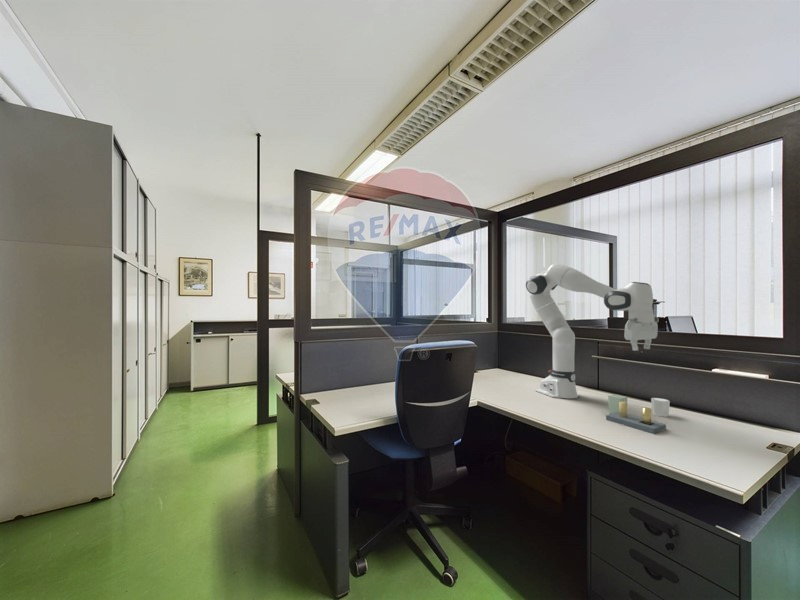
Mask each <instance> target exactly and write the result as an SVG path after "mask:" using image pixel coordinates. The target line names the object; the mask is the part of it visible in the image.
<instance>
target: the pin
mask: <svg viewBox="0 0 800 600" xmlns="http://www.w3.org/2000/svg"><path fill="white" fill-rule="evenodd" d="M641 413H642V417H641V418H642V420H643V424H646V425H650V426H651V425H652V421H653V420H652V416H653V415H652V414H653V413H652V407H651V408H650V407H647V406H646V407H644V406H643V407H642V412H641Z"/></svg>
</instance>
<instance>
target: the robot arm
mask: <svg viewBox="0 0 800 600" xmlns="http://www.w3.org/2000/svg"><path fill="white" fill-rule="evenodd" d="M557 286H559V287H561V288H562V289H565V290H568V291H571V292H575V293H586V294H593V295H595V296H598V297H600V298H601V299H603V304H604V305H605V307H606V308H607V309H609V310H611V311H615V312H617V311H618V312H622V311H623V312H628V314H627V315H628V320H627V322H626V323H625V325H624V336H623V337H624V339H625V340H626V341H629V342H630V344H631V348H632V351H635V352H636V351H639V346H638V341H642V340H644V345H643V349H644V350H650V349H651V343H652V339H657V337H658V332H659V331H658V330H659V329H658V327H659V326H658V323H659V317H658V316H656V315H655V314H654V310H653V304H654V294H653V288H652V286H651V285H650V284H649V283H646V282H638V281H632V282H629V283H628V284H627V285H624V286H622V287H620V288H614V287H611V286H609V285H607V284H604V283H601V282H599V281H597V280H595V279H593V278H592V277H590V276H589V275H587V274H585V273H583V272H582V271H579V270H578V269H576V268H573V267H571V266H567V265H564V264H560V263H552V264H551V265H550V266H549V267H548V268H547V269H546V270H543V271H539V272H538V273H536V274H534V275H533V276H531V277H529V278H527V280H526V282H525V288H526V290H527V291H528V292H529V298H530V300H531V303H532V305H533V307H534V310H535V311H536V313H537V315H538V316H539V318H540V319H541V321H542V323H543V325H544V326H545V328H546V329H547V331H548V333H549V334H550V336H551V338H552V368H551V369H549V370H548V373H549V375H548V376H546V377H545V378H543V379H541V381H540V384H539V387H537V388H535V392H537V393H539V394H543V395H545V396H548V397H552V398H555V399H556V398H560V399H578V398H579V394H578V392H577V391H578V390H577V386H576V371H575V355H576V353H575V348H576V347H575V346H576V335H575V332H574V331H573V330H572V329H571V327H570V325H569V324H568V322H567V320H566V318H565V316H564V315H563V313H562V312H561V310H560V308H559V307H558V305H557V304H556V302H555V300H554V299H553V298H552V295H551V291H554V290H555V288H556V287H557Z"/></svg>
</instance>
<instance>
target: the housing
mask: <svg viewBox="0 0 800 600" xmlns="http://www.w3.org/2000/svg"><path fill="white" fill-rule="evenodd" d="M619 402H626V403H627V404H628V396H623V395H620V394H610V395H608V413H609V414H612V413H616V412H619Z"/></svg>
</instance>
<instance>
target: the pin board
mask: <svg viewBox="0 0 800 600" xmlns="http://www.w3.org/2000/svg"><path fill="white" fill-rule="evenodd" d="M605 420H606V421H610V422H613V423H616V424H619V425H622V426H625V427H630V428H632V429H636V430H638V431H639V430H640V431H643V432H647V433H648V434H649V433H650V434H653V435H654V434H657V433H660V432H662V431H665V430H667V424H666V423H663V422H658V421H655V420H652V425H651V426H650V425H646V424H643V420H642V417H640V416H637V415H632V414H629V411H628V402H627V403H626V402H619V412H616V413H609V414H606V415H605Z"/></svg>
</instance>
